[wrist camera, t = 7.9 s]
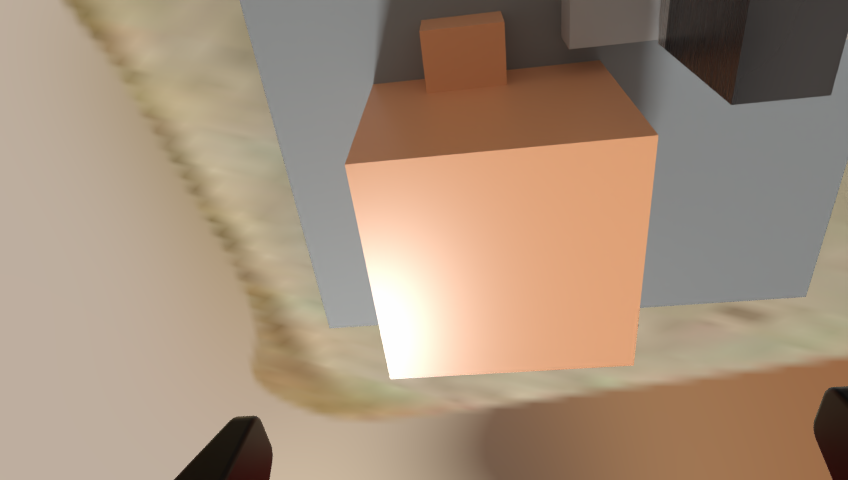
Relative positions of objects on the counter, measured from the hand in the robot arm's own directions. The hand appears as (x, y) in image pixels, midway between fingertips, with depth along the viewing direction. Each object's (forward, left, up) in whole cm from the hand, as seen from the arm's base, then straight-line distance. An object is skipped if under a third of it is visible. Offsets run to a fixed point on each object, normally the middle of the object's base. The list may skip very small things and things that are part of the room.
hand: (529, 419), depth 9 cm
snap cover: (0, 0, -9) cm, 9 cm away
